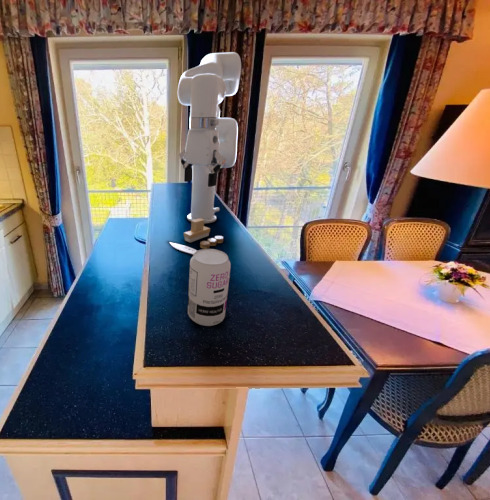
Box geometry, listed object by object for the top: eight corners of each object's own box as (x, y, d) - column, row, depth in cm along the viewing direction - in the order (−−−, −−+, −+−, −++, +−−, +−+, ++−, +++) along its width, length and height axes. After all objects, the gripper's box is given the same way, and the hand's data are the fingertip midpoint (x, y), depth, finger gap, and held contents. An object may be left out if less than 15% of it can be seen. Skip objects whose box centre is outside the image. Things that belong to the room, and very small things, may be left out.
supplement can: (199, 300, 68) (203, 244, 62) (231, 314, 63) (238, 254, 57) (180, 317, 62) (182, 257, 56) (212, 333, 58) (218, 270, 51)
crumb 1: (204, 244, 98) (204, 240, 98) (211, 247, 96) (211, 242, 95) (198, 246, 96) (198, 242, 96) (205, 249, 94) (205, 245, 93)
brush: (203, 233, 107) (204, 215, 104) (209, 235, 105) (211, 218, 102) (183, 240, 101) (184, 222, 98) (189, 243, 99) (190, 224, 96)
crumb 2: (217, 239, 102) (218, 234, 102) (224, 241, 100) (225, 237, 99) (212, 241, 100) (212, 237, 100) (219, 244, 98) (219, 239, 98)
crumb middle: (211, 241, 100) (211, 237, 100) (218, 244, 98) (218, 240, 97) (205, 243, 98) (205, 239, 98) (212, 246, 96) (212, 242, 95)
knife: (168, 239, 100) (188, 236, 102) (168, 244, 100) (188, 241, 102) (205, 279, 73) (231, 274, 75) (204, 284, 74) (231, 279, 76)
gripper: (235, 124, 77) (229, 186, 85) (189, 123, 89) (187, 177, 96) (219, 125, 73) (214, 190, 80) (172, 124, 84) (171, 181, 92)
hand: (199, 183), depth 88 cm, fingers open, 9 cm apart
